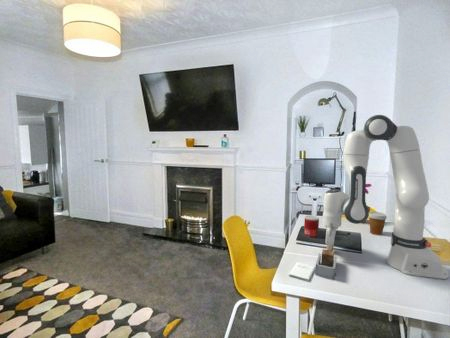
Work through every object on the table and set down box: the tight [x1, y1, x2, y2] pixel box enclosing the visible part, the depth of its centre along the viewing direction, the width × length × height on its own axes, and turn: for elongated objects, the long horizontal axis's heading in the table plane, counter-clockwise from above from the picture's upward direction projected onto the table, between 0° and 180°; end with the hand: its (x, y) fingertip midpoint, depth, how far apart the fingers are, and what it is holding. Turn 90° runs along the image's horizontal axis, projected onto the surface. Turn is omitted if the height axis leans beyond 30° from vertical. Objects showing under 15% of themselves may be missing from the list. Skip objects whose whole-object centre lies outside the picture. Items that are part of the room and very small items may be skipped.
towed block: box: [320, 245, 335, 267], centre depth 128 cm, size 5×18×5 cm, turn 154°
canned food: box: [303, 214, 320, 238], centre depth 155 cm, size 8×8×11 cm
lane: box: [314, 253, 338, 280], centre depth 115 cm, size 8×12×4 cm, turn 154°
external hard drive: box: [288, 261, 316, 283], centre depth 114 cm, size 2×8×12 cm
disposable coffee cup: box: [368, 211, 388, 236], centre depth 158 cm, size 10×10×12 cm
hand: (330, 247), depth 134 cm, fingers closed on towed block, 3 cm apart
